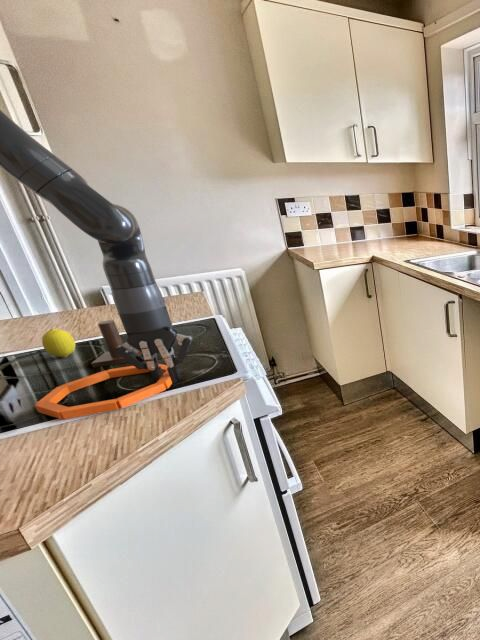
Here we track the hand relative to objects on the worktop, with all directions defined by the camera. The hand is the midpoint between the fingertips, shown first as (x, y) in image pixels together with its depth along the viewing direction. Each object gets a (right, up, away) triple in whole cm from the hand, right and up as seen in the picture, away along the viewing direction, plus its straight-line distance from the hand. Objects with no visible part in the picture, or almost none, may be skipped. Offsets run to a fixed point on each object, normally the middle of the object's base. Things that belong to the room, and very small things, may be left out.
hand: (169, 382), depth 92 cm
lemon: (-39, +5, +16) cm, 43 cm away
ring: (-9, -2, -3) cm, 10 cm away
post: (-23, +4, +13) cm, 27 cm away
